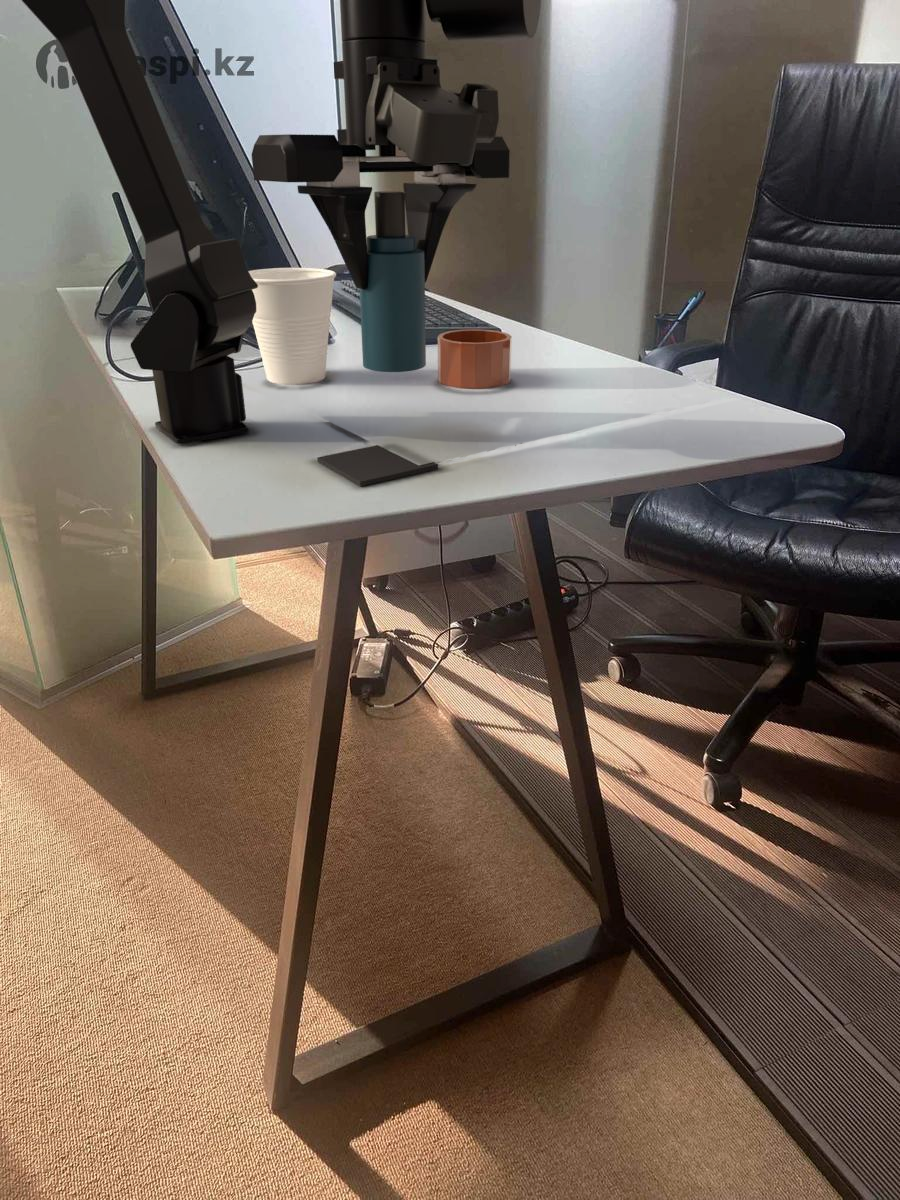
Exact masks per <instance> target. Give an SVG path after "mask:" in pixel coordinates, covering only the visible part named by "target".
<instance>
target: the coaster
mask: <svg viewBox="0 0 900 1200" xmlns="http://www.w3.org/2000/svg"><path fill="white" fill-rule="evenodd" d="M316 459H317V463H318V464H321V465H322V466H324V467H326V468H327V469H329V470H330V471H333V472H334V473H336V474H338V475H339V476H341V477H343V478H345V479H346V480H348V481H350V482H352V483H354V485H356V486H359V487H365V486H368V485H374V484H377V483H382V482H386V481H391V480H395V479H399V478H404V477H409V476H413V475H417V474H422V473H426V472H430V471H435V470H439V464H438V463H436V462H435V461H432V462H428V463H423V464H417V463H416V462H413V461H411V460H409V459H407V458H404V457H403V456H401V455H398V454H396V453H394V452H393V451H390V450H389V449H386V448H384V447H383V446H380V445H378V444H376V445H371V446H365V447H362V448H357V449H351V450H346V451H342V452H335V453H331V454H327V455H322V456H317V457H316Z"/></svg>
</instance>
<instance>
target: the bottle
mask: <svg viewBox="0 0 900 1200" xmlns="http://www.w3.org/2000/svg"><path fill="white" fill-rule="evenodd" d="M373 196H374V219H375V220H374V222H375V234H371V235H368V236H366V240H367V255H368V285H367V289H359V305H360V306H359V307H360V310H359V311H360V327H361V329H360V330H361V350H362V351H361V353H362V367H363V368H365V369H367V370H369V371H372V372H373V371H374V372H379V373H381V372H382V373H407V372H413V371H417V370H421V369H423V368H425V367H426V366H427V355H426V354H427V350H426V349H427V346H426V345H427V344H426V343H427V339H426V337H427V336H426V283H425V260H424V250H421V249H415V237H414V236H412V235H408V234H406V208H405V194H404V191H401V190H399V191H398V190H382V191H381V190H380V191H374V193H373Z"/></svg>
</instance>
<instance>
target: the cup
mask: <svg viewBox="0 0 900 1200" xmlns="http://www.w3.org/2000/svg"><path fill="white" fill-rule="evenodd" d="M248 272H249V273H250V275H251V277H252V278H253V280H254V281H255V282H256V283H257V285H258V288H256V289H252V291H253V293H254V296H255V300H256V313H255V314H254V317H253V320H252V326H253V330H254V334H255V337H256V340H257V344H258V349H259V353H260V357H261V359H262V364H263V368H264V372H265V377H266V380H267V381H268V382H270V383H273V384H279V385H307V384H312V383H317V382H320V381H322V380H324V379H325V378H326V372H327V371H326V370H327V359H328V358H327V357H328V346H329V336H330V325H331V324H330V322H331V312H332V304H333V294H334V283H335V278H336V277H337V272H335V271H334V270H330V269H325V268H316V267H273V268H262V269H261V268H260V269H253V270H248Z"/></svg>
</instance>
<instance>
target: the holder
mask: <svg viewBox="0 0 900 1200" xmlns="http://www.w3.org/2000/svg"><path fill="white" fill-rule="evenodd" d="M512 340H513V336H512V335H511V334H509V333H508V332H503V331H499V330H491V329H475V328H474V329H473V328H472V329H457V330H450V331H449V330H448V331H445V332H442V333H439V335H437V380H438V383H440V384H442V385H443V386H446V387H450V388H455V389H464V390H465V389H466V390H482V389H485V390H486V389H493V388H500V387H503V386H506V385H507V384H509V383H510V382H511V378H512V375H511V373H512V345H513V344H512V343H513V342H512Z"/></svg>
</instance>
